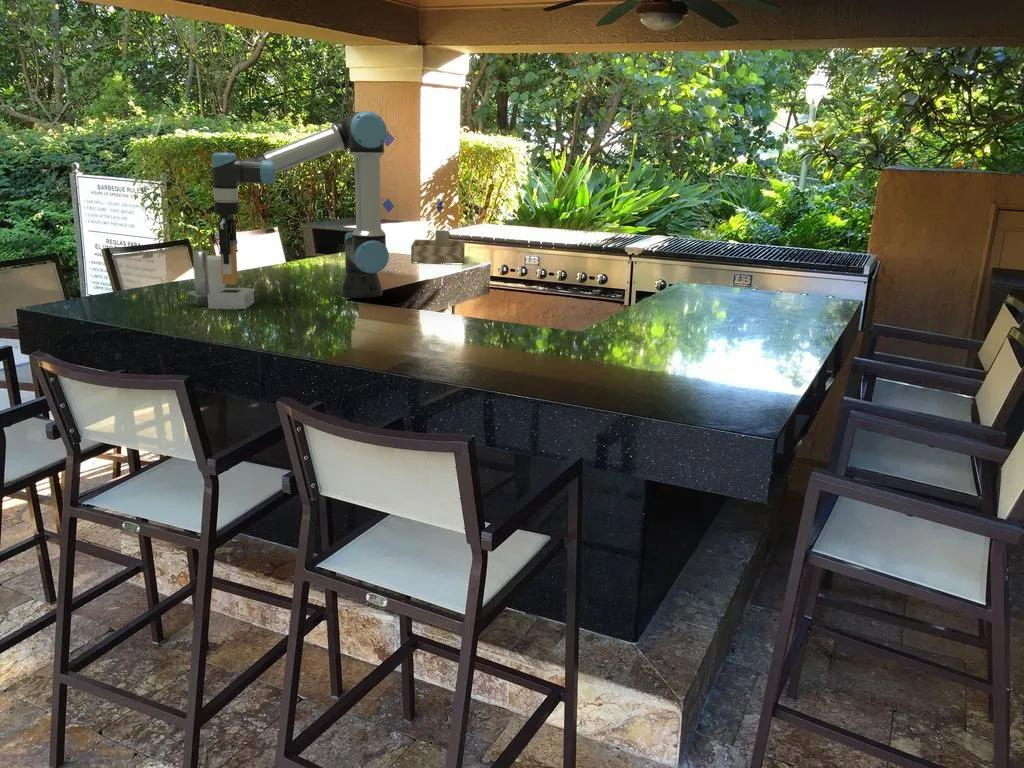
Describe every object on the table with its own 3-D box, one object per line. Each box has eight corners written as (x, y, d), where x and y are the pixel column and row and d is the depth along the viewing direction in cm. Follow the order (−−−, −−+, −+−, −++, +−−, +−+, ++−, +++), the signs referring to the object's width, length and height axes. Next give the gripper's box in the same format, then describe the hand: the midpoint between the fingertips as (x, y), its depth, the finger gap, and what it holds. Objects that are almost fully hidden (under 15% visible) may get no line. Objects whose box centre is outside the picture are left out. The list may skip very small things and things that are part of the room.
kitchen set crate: (464, 257, 426) (464, 241, 424) (463, 264, 401) (463, 247, 399) (415, 255, 425) (415, 239, 423) (411, 263, 400) (411, 246, 398)
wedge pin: (239, 282, 289) (237, 240, 285) (235, 284, 285) (233, 241, 281) (224, 281, 289) (222, 239, 285) (220, 284, 285) (218, 241, 281)
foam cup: (223, 296, 305) (221, 259, 302) (197, 295, 305) (195, 258, 302) (232, 291, 314) (230, 256, 311) (207, 290, 314) (204, 255, 311)
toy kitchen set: (469, 260, 419) (470, 228, 415) (457, 264, 403) (458, 232, 399) (434, 257, 424) (434, 226, 420) (421, 261, 408) (421, 229, 404)
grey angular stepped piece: (262, 296, 307) (260, 246, 302) (245, 309, 284) (242, 255, 279) (204, 295, 306) (201, 244, 301) (182, 307, 283) (178, 253, 278)
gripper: (222, 199, 288) (225, 268, 294) (206, 202, 271) (210, 276, 278) (244, 200, 288) (247, 269, 294) (230, 203, 272) (234, 277, 278)
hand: (229, 272), depth 286 cm, fingers closed on wedge pin, 4 cm apart
